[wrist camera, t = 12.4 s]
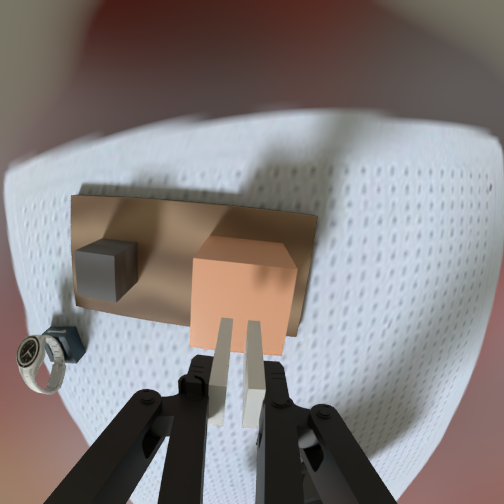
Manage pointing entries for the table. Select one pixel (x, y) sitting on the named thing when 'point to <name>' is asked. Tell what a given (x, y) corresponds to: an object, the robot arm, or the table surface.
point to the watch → (59, 351)
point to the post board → (168, 251)
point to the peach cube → (241, 292)
